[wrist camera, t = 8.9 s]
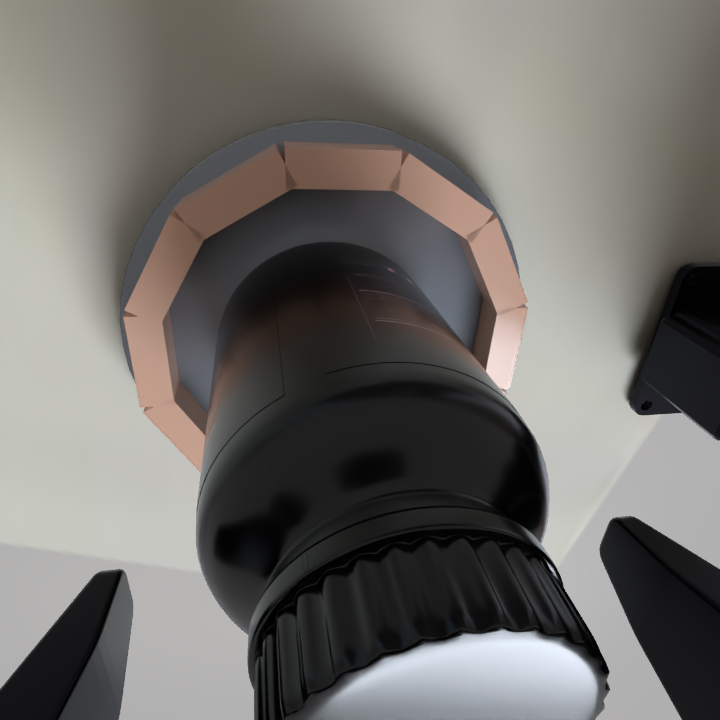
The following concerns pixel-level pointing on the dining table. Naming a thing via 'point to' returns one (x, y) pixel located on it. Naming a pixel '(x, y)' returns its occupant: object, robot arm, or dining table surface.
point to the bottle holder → (303, 226)
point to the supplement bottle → (379, 509)
